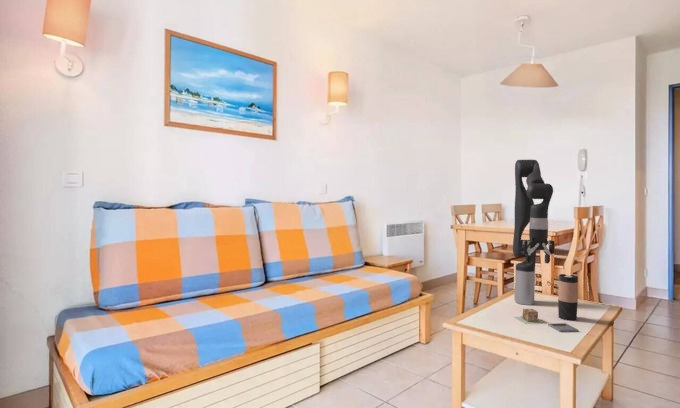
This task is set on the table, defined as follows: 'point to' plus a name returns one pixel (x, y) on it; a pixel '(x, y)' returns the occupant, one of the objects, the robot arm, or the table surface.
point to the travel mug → (568, 297)
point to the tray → (563, 327)
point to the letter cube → (530, 315)
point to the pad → (530, 322)
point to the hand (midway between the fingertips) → (537, 263)
